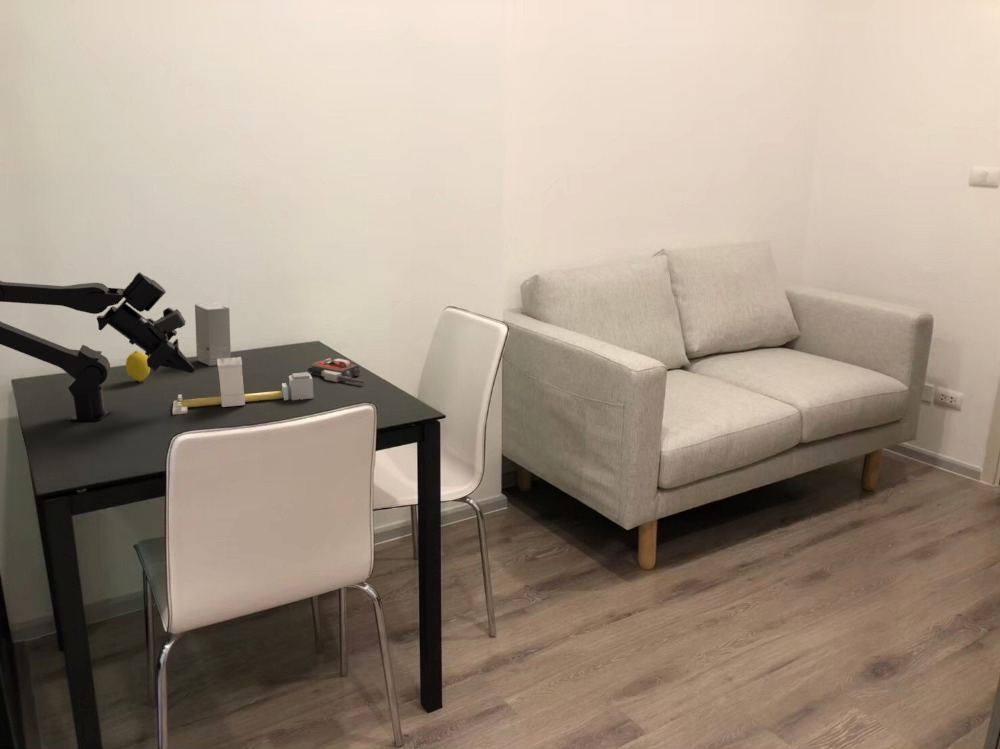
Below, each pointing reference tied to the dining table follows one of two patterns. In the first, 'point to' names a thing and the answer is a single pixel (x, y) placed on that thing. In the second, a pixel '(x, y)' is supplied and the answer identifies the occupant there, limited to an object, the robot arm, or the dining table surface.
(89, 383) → the robot arm
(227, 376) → the white lidded box
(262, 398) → the wooden handled rake
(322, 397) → the dining table surface
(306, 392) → the grey plastic block
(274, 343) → the dining table surface
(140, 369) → the lemon
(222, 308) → the skincare box
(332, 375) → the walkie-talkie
